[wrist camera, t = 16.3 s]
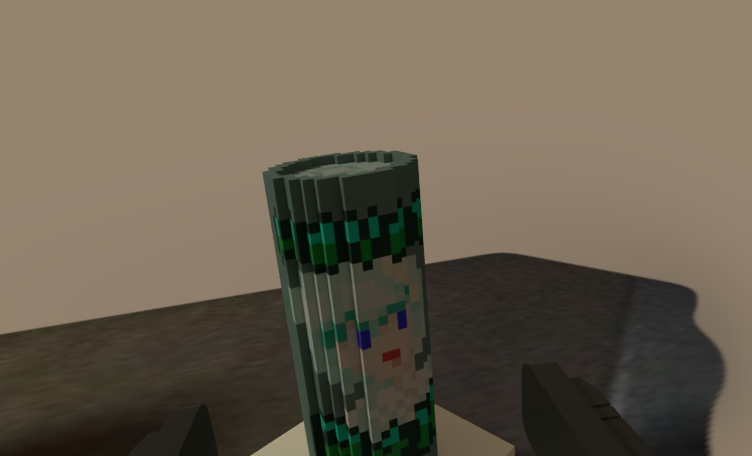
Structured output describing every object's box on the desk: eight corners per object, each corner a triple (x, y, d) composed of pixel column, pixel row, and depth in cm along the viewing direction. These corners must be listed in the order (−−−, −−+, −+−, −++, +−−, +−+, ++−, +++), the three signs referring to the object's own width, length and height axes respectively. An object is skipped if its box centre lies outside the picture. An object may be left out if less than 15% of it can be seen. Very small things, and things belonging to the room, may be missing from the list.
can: (337, 531, 20) (285, 187, 16) (300, 441, 26) (253, 166, 21) (459, 476, 23) (442, 160, 18) (401, 403, 28) (378, 146, 24)
